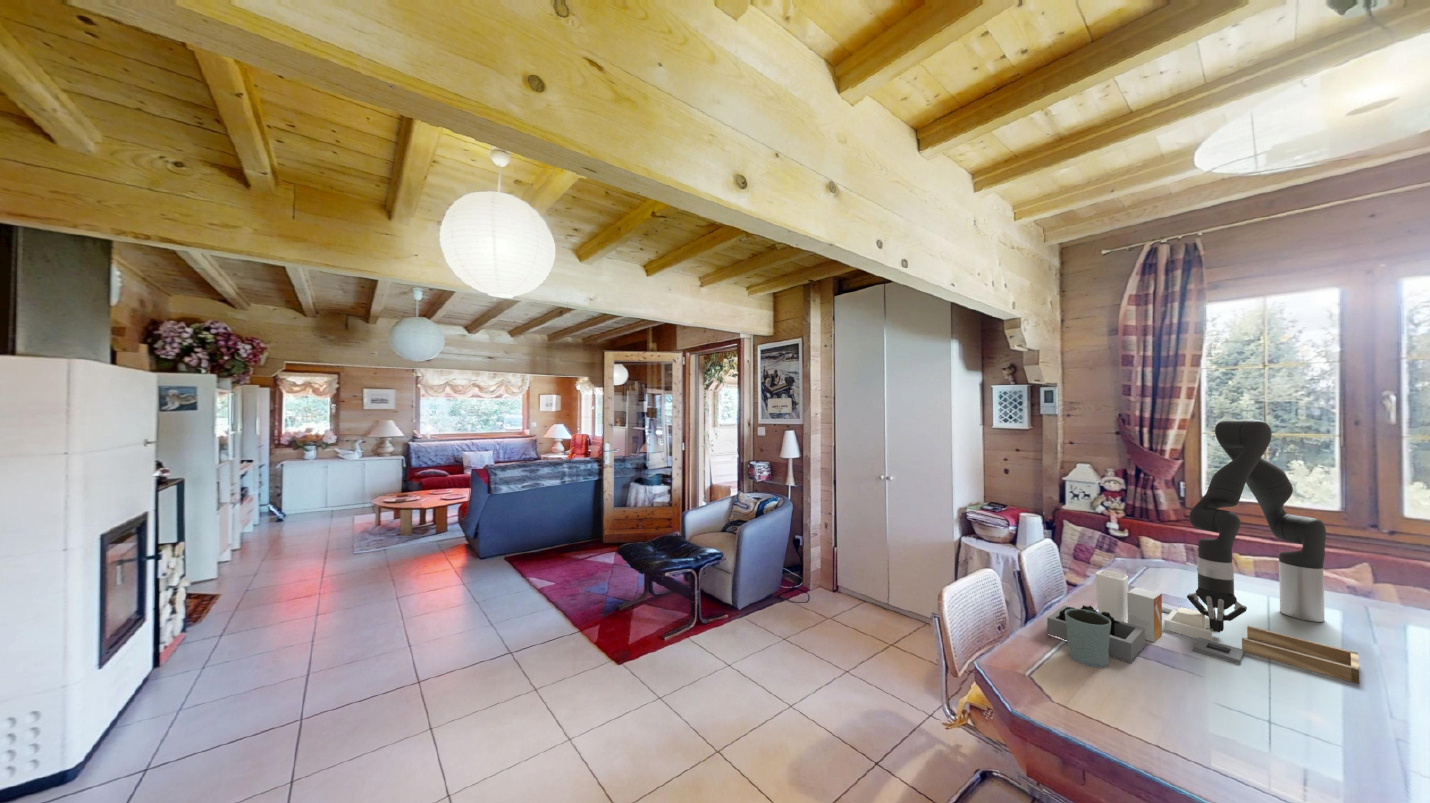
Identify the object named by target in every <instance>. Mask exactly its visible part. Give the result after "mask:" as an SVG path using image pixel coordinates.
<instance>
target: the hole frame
mask: <svg viewBox="0 0 1430 803" xmlns="http://www.w3.org/2000/svg"><path fill="white" fill-rule="evenodd" d="M1192 651H1193V652H1196V653H1198V654H1199V653H1200V654H1203V655H1206V656H1209V657H1212V658H1216V659H1219V660H1224V661H1226V662H1230V663H1233V664H1235V665H1241V662H1242V660H1243V658H1244V656H1245V652H1244V650H1243V649H1242V648H1239V647H1236V646H1232V645H1228V644H1224V643H1221V642H1219V641H1214V640H1212V641H1211V640H1207V639H1204V638H1200V637H1198V639H1197V638H1196V641H1195V643H1193V645H1192Z"/></svg>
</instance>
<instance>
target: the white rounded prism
mask: <svg viewBox="0 0 1430 803" xmlns="http://www.w3.org/2000/svg"><path fill="white" fill-rule="evenodd" d="M1127 592H1129V576H1128V575H1127V574H1125V573H1121V572H1116V571H1112V570H1107V569H1099V570H1098V571H1097V572H1095V594H1096V604H1097V610H1098V611H1097V612H1098V613H1102V612H1109V614H1110V616H1111V617H1113V618H1114V620H1118V621H1121V622H1125V621H1126V618H1127V614H1128V602H1127Z"/></svg>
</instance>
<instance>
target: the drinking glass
mask: <svg viewBox="0 0 1430 803" xmlns="http://www.w3.org/2000/svg"><path fill="white" fill-rule="evenodd" d="M1065 619H1066V625H1067V626H1066V627H1067V640H1068V642H1067V649H1068V655H1069V657H1070V658H1071V659H1072V660H1074V662H1078V663H1079V664H1081V665H1085V666H1087V665H1088V666H1087V667H1091V666H1093V667H1092V668H1098V667H1102V668H1105V666H1106V667H1108V665H1109V657H1110V656H1109V653H1108V648H1109V639H1110V629H1111V620H1110V619H1109V618H1107V617H1106V616H1104V615H1102V614H1099V612H1098V613H1096V612H1093V611H1089V610H1084V609H1081V608H1076V609H1069V610H1066V611H1065Z"/></svg>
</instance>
